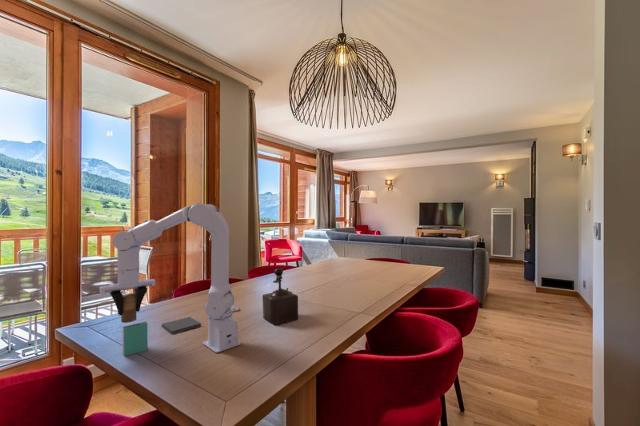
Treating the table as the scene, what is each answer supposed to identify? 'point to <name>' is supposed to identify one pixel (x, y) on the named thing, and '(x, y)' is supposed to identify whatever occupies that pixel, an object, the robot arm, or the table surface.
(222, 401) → the table surface
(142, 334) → the tile
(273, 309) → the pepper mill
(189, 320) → the mat
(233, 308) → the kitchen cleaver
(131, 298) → the peg
